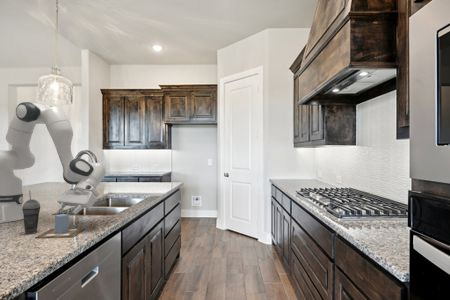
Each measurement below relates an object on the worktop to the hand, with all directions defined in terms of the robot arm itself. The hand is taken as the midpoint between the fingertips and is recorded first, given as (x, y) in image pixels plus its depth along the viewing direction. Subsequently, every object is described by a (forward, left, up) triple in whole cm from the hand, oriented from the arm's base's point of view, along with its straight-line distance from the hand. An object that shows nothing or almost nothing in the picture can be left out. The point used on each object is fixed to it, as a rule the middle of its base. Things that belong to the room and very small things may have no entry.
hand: (66, 212), depth 132 cm
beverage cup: (-16, +1, -9) cm, 19 cm away
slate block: (-1, -2, -9) cm, 9 cm away
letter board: (-1, -2, -9) cm, 10 cm away
